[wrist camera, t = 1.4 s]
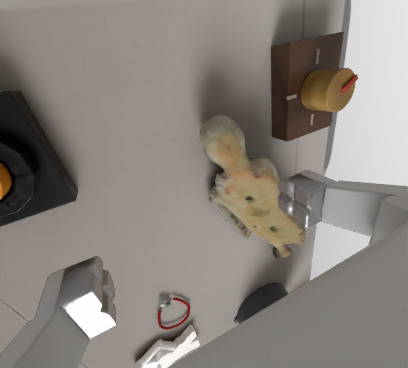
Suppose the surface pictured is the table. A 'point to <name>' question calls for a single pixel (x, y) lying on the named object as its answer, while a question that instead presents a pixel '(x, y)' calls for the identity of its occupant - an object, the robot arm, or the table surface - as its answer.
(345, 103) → the dimmer knob
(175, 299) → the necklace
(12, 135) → the switch box
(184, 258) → the table surface
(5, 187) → the light button
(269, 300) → the light fixture
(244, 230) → the statue
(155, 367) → the white abstract figurine
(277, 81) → the dimmer panel
